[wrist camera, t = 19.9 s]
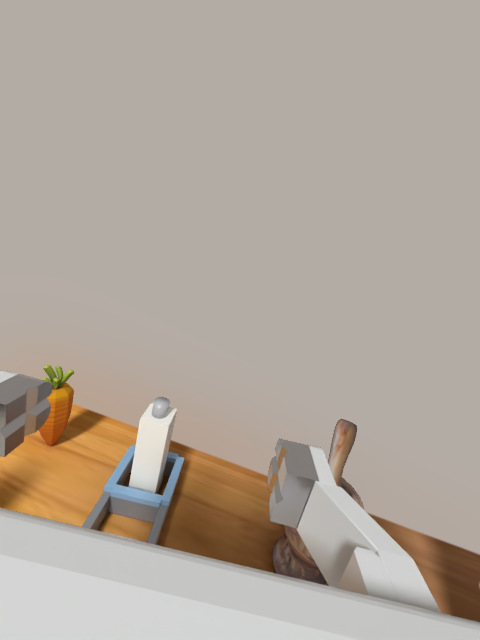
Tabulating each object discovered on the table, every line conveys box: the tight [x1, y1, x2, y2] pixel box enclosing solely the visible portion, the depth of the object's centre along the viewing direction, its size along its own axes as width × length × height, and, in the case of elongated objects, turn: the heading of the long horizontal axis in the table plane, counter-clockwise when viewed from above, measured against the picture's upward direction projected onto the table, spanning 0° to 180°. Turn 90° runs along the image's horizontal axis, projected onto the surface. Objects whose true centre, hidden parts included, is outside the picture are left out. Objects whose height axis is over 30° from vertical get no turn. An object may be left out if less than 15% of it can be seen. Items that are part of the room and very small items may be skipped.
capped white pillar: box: [129, 397, 177, 494], centre depth 39 cm, size 4×4×16 cm
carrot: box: [39, 365, 74, 446], centre depth 43 cm, size 5×5×15 cm
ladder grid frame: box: [82, 445, 184, 545], centre depth 33 cm, size 9×25×4 cm, turn 177°
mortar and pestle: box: [273, 419, 364, 585], centre depth 35 cm, size 12×9×20 cm
